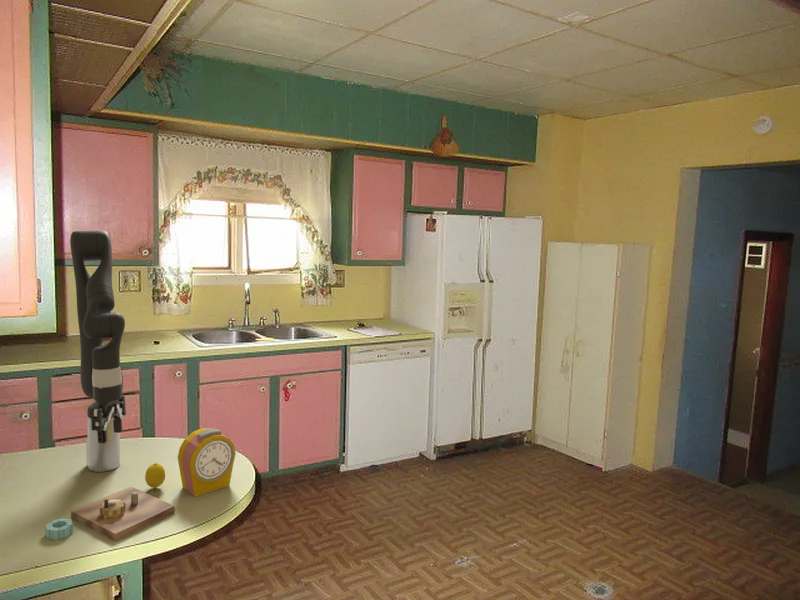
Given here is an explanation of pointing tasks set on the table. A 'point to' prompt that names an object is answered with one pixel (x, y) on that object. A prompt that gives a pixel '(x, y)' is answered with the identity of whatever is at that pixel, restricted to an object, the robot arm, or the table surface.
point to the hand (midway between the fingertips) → (110, 437)
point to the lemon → (155, 475)
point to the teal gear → (59, 529)
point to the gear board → (122, 513)
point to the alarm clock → (206, 461)
